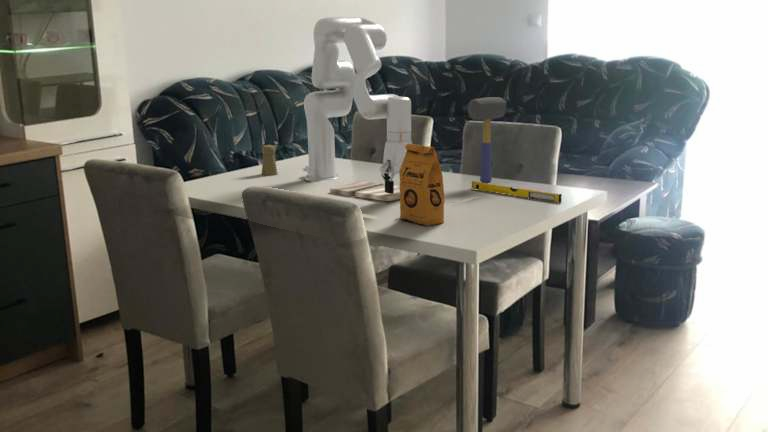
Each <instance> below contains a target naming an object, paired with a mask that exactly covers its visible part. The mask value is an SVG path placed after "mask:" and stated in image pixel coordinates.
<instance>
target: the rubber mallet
mask: <svg viewBox="0 0 768 432" xmlns="http://www.w3.org/2000/svg"><path fill="white" fill-rule="evenodd" d="M506 112H507V103H506V101H505V99H503V97H498V96H497V97H493V96H491V97H490V96H488V97H487V96H486V97H481V98H474V99H471V100H470V101H469V102H468V104H467V113H468V116H469V118H470V119H472V120H474V121H475V120H477V121H478V120H480V121H481V120H483V123H482V124H483V125H482V128H483V129H482V142H481V147H480V161H481V166H480V167H481V168H480V170H481V172H480V177H479V182H481V183H487V184H488V183H490V184H491V182H492V179H493V178H492V173H491V172H492V165H491V164H492V156H493V153H492V142H491V120H493V119H499V118H502V117H504V116H505V115H506Z"/></svg>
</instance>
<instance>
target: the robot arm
mask: <svg viewBox="0 0 768 432" xmlns="http://www.w3.org/2000/svg"><path fill="white" fill-rule="evenodd" d="M387 40H388V38H387V34H386V31H385V29H384V28H383V27H382V26H381V25H380V24H379V23H377V22H374V21H371V20H369V19H367V18H364V17H361V16H360V17H359V16H358V17H357V16H349V17H347V16H346V17H345V16H332V17H323V18H320V19H318V20H317V21H316V23H315V25H314V28H313V41H314V43H313V45H314V50H313V51H314V52H313V61H312V69H311V84H312V86H313V87H315V88H317V89H318V90H319V89H320V90H319V91H313V92H310V93H308V94H306V96H305V97H304V100H303V107H304V113H305V118H306V126H307V127H306V128H307V145H308V146H307V147H308V150H307V151H308V154H307V155H308V165H305V167H303V168H302V171H303V172H304V173H305V172H306V173H307V174H306V175H305V176H304V180H305V181H307V182H318V181H327V180H336V179H338V178H340V174H338V173H336V152H335V151H336V150H335V149H336V148H335V147H336V146H335V142H336V141H335V129H334V127H333V125H332V123H331V121H330V120H329V119H330V118H339V117H344V116H347V115H349V113H350V112H351V111H352V105H353V101H354V103H355V105H356V106H355V107H356V108H357V110H358V112H359V114H360V115H361V117H362V118H364V119H365V120H369V121H370V120H380V119H386V141H385V144H384V148H383V149H384V150H383V163H382V165H381V166H380V168H379V171H380V174H381V177H382V180H383V181H384V185H385V193H391V194H393V193H394V186H395V183H394V182H395V181H394V177H395V175H400V168H401V166H402V163H403V160H404V157H405V155H406V152H407V149H405V147H406V145H407V144H408V143H409V144H413V142H412V101H411V98H409V97H407V96H399V95H397V94H394V93H386V94H373V95H372V94H370V93H369V91H368V88H367V84H366V80H367V79H368V78H371V77H372V76H373V75H375V74H376V73H378V71H380V70H381V68H382V61H381V58H380V56H379V54H378V52H377V51H380V50H383V49H384V48H385V47H386V45H387V44H386V43H387ZM338 44H345V46H346V49H347V52H348V54H349V56H350V58H351V62H352V63H351V62H350V61H348V60H339V58H340V49H339V47H338ZM329 89H330V90H329ZM331 89H334V90H331Z"/></svg>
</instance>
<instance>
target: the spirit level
mask: <svg viewBox="0 0 768 432" xmlns="http://www.w3.org/2000/svg"><path fill="white" fill-rule="evenodd" d="M472 188H473V189H478V190H484V191H483V192H485V191H491V192H498V193H505V194H511V195H516V196H515V197H517V196H522V197H521V198H523V197H529V198H528V199H530V198H535V199H534V200H536V199H540V200H539V201H542V200H546V201H545V202H549V201H553V202H552V203H555V202H561V203H562V193H556V192H555V193H554V192H549V191H548V192H547V191H541V190H534V189H527V188H520V187H519V188H515V187H514V188H513V187H512V186H507V185H506V186H505V185H500V184H492V183H490V184H487V183H482V182H481V181H475V180H473V181H471V189H472ZM478 190H477V191H478ZM491 192H490V193H491Z"/></svg>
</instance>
